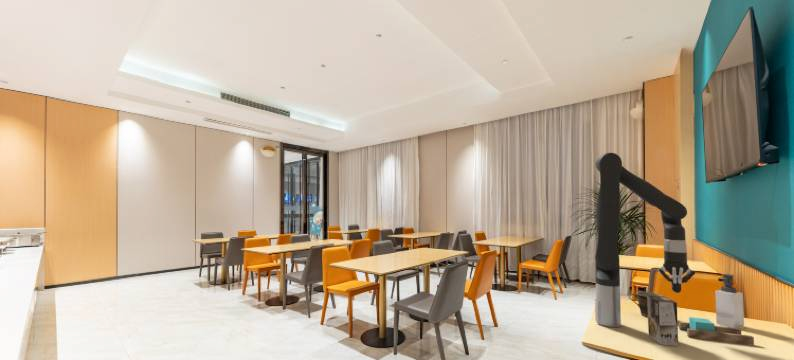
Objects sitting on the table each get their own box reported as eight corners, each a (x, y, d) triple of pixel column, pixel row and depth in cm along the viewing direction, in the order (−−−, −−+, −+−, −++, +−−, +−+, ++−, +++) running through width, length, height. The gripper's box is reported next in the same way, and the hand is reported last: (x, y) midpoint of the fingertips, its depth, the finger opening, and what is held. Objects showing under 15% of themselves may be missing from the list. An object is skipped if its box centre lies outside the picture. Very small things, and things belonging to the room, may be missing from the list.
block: (696, 336, 139) (695, 321, 140) (689, 331, 145) (689, 317, 145) (714, 339, 137) (714, 323, 137) (707, 333, 143) (707, 318, 143)
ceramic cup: (661, 314, 165) (660, 293, 166) (664, 321, 157) (663, 298, 157) (628, 310, 172) (628, 289, 173) (629, 315, 164) (629, 294, 164)
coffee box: (679, 346, 130) (677, 302, 131) (659, 344, 131) (658, 301, 132) (665, 336, 139) (664, 295, 140) (647, 335, 140) (646, 294, 141)
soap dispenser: (713, 324, 154) (711, 273, 155) (725, 322, 156) (723, 272, 158) (731, 329, 147) (729, 277, 149) (744, 327, 150) (741, 275, 151)
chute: (688, 337, 138) (688, 329, 139) (679, 328, 148) (678, 321, 148) (754, 345, 131) (753, 337, 131) (739, 335, 140) (739, 328, 141)
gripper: (659, 250, 144) (660, 292, 143) (698, 252, 140) (700, 296, 139) (653, 248, 151) (654, 288, 150) (690, 250, 147) (692, 291, 146)
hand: (676, 292), depth 145 cm, fingers closed
